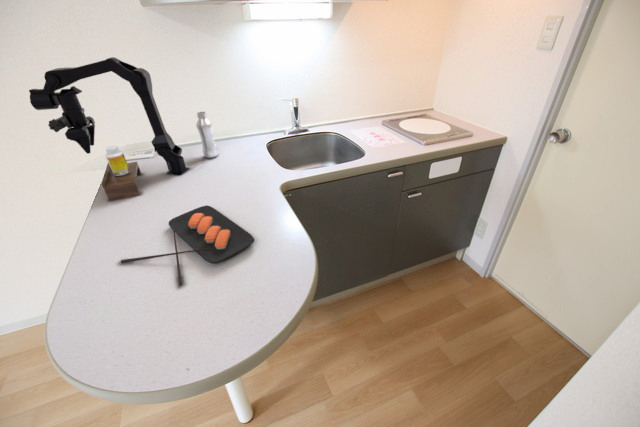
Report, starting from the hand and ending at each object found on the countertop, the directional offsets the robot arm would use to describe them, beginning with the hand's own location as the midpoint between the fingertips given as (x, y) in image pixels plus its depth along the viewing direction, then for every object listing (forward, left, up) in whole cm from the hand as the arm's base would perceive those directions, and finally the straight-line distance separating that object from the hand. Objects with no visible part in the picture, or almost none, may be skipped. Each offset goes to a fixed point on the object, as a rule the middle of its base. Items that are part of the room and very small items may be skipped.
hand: (90, 149), depth 119 cm
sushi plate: (-60, +29, -13) cm, 68 cm away
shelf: (-14, +3, -13) cm, 19 cm away
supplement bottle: (-14, +2, -8) cm, 16 cm away
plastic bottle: (-30, -31, -13) cm, 45 cm away
